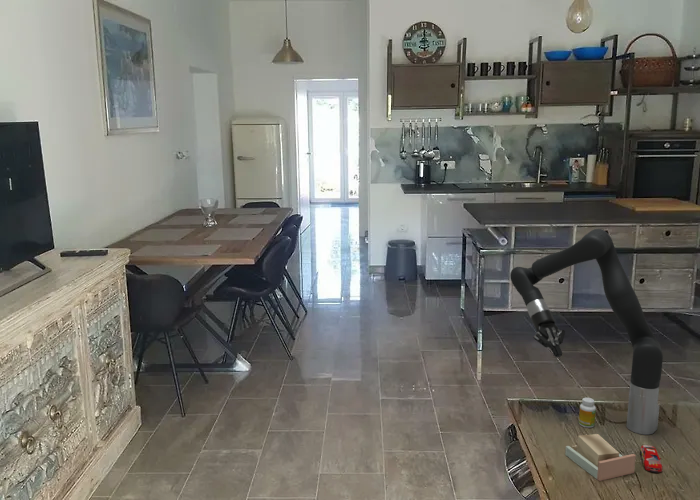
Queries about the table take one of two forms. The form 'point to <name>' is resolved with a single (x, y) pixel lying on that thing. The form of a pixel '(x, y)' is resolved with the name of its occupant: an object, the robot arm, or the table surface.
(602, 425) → the table surface
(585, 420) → the supplement bottle
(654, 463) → the race car
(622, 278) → the robot arm
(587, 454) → the oak block
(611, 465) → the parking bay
